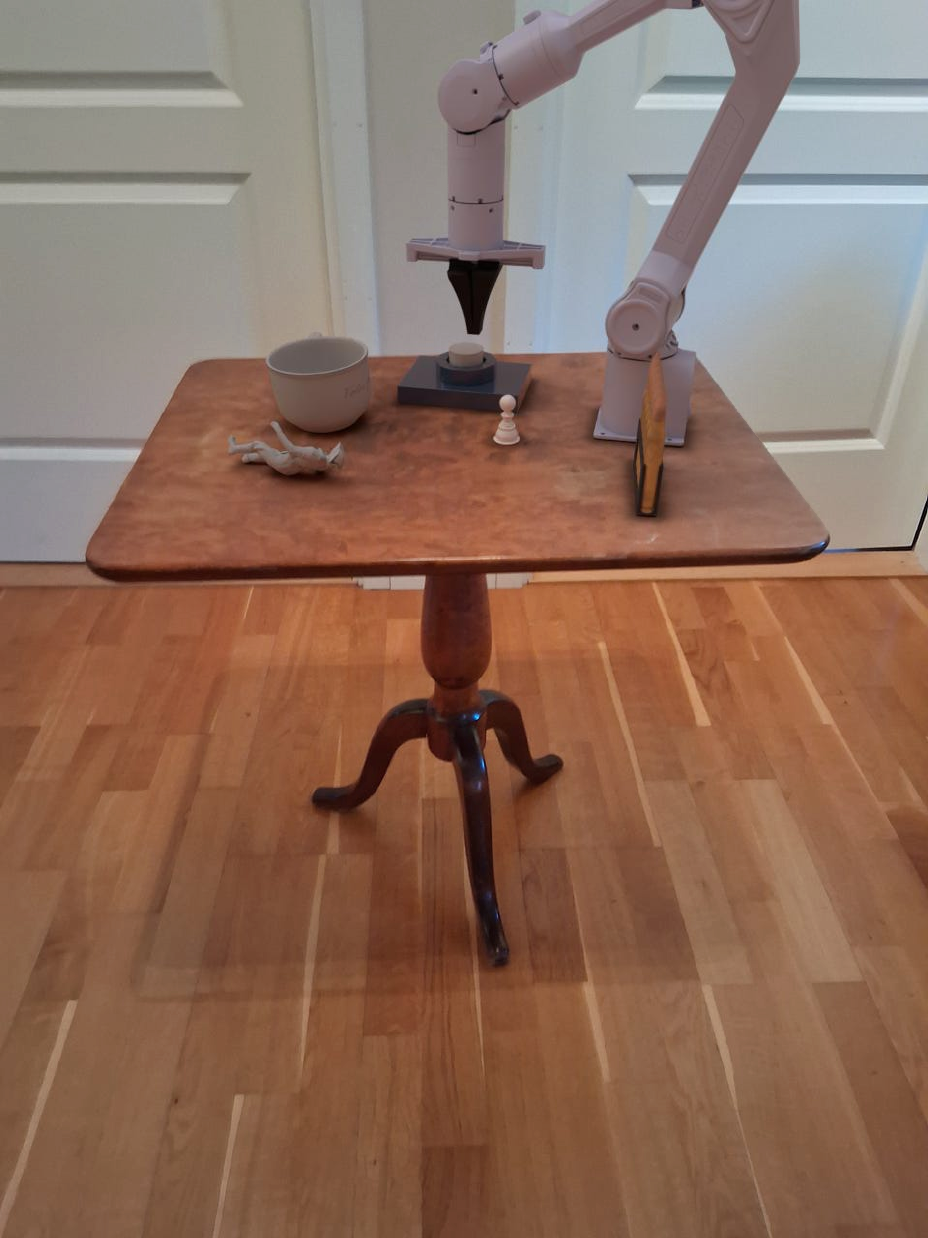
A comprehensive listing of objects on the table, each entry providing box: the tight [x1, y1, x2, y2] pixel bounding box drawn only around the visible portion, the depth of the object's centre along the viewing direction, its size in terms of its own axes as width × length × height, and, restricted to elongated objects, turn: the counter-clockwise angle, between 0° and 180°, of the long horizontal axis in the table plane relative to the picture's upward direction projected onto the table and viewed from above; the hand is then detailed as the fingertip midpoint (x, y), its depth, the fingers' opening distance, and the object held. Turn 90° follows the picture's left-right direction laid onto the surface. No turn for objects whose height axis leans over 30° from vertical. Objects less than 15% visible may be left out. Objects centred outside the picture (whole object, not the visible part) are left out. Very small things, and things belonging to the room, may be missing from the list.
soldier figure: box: [227, 420, 346, 476], centre depth 89 cm, size 8×5×12 cm
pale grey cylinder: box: [448, 341, 485, 367], centre depth 104 cm, size 4×4×2 cm
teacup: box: [265, 331, 372, 434], centre depth 98 cm, size 14×11×8 cm
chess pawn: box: [492, 395, 521, 446], centre depth 94 cm, size 3×3×5 cm
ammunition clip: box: [632, 352, 667, 517], centre depth 83 cm, size 11×2×12 cm, turn 173°
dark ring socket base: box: [396, 350, 533, 415], centre depth 105 cm, size 14×10×4 cm
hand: (474, 331), depth 99 cm, fingers closed
